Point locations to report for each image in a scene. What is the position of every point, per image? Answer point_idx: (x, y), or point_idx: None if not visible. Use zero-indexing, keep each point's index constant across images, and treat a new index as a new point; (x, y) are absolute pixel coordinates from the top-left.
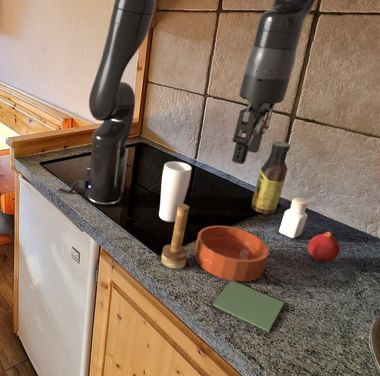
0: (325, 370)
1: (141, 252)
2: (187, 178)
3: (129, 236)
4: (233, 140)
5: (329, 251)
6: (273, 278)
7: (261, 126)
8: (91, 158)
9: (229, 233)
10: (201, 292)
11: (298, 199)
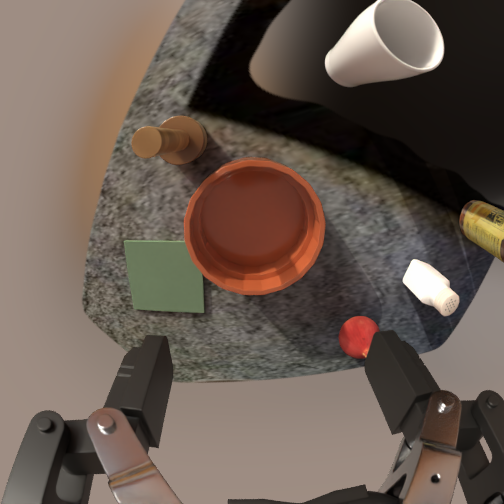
0: None
1: (172, 81)
2: (390, 71)
3: (211, 35)
4: (35, 419)
5: (343, 349)
6: None
7: (384, 487)
8: None
9: (313, 207)
10: (139, 215)
11: (453, 301)
